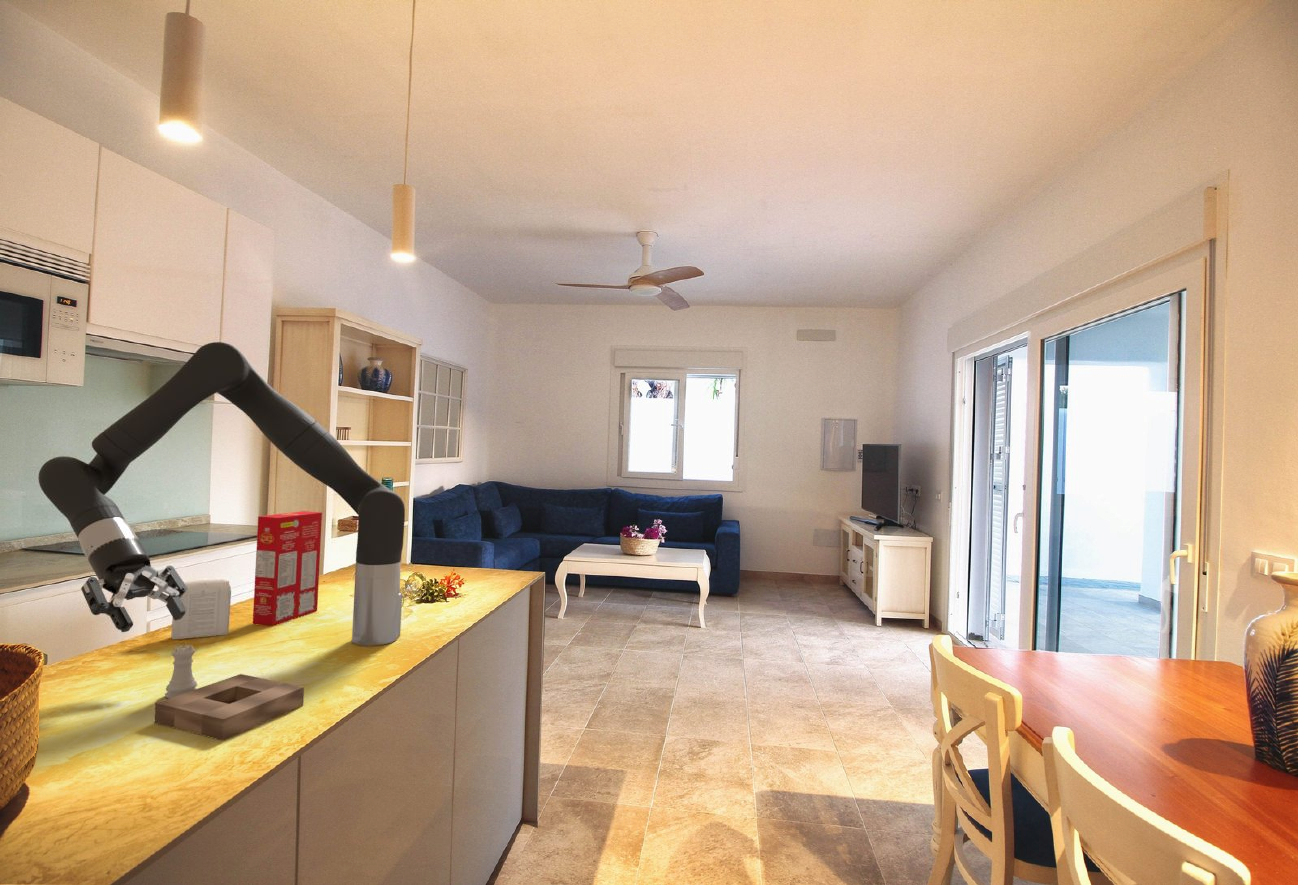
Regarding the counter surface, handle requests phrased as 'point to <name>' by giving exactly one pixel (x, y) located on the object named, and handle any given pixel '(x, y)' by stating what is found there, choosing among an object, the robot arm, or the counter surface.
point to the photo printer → (204, 609)
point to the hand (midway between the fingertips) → (155, 622)
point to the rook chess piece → (181, 672)
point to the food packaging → (287, 567)
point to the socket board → (229, 706)
